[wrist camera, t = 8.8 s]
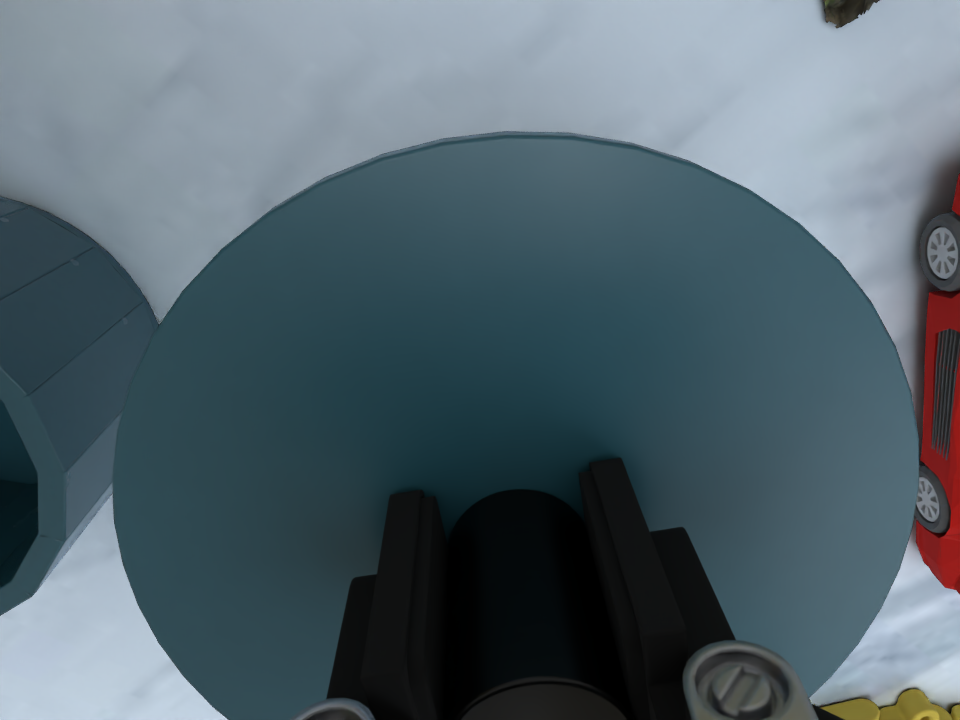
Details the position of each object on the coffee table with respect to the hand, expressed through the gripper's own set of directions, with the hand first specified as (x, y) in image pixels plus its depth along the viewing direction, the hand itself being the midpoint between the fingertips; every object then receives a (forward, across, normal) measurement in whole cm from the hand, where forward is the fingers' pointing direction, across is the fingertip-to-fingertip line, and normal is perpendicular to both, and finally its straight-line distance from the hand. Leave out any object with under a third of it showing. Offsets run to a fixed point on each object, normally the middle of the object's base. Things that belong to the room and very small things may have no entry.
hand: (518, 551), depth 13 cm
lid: (+1, 0, 0) cm, 1 cm away
